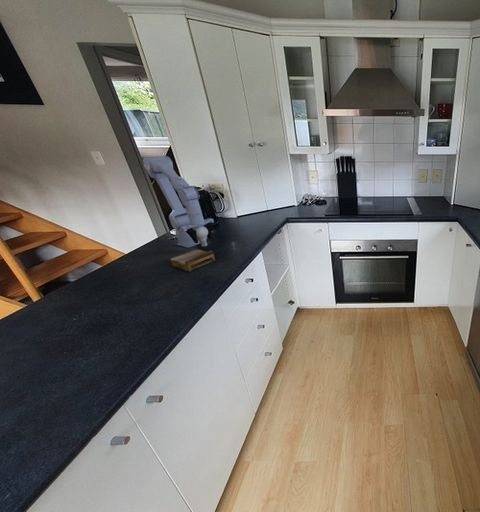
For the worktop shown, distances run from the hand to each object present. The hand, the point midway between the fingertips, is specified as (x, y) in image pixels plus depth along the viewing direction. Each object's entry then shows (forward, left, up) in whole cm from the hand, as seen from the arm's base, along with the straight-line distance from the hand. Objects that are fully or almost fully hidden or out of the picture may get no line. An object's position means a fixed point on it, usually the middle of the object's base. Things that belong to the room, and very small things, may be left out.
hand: (202, 240), depth 134 cm
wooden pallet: (+8, -11, -6) cm, 15 cm away
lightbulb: (0, 0, -4) cm, 4 cm away
